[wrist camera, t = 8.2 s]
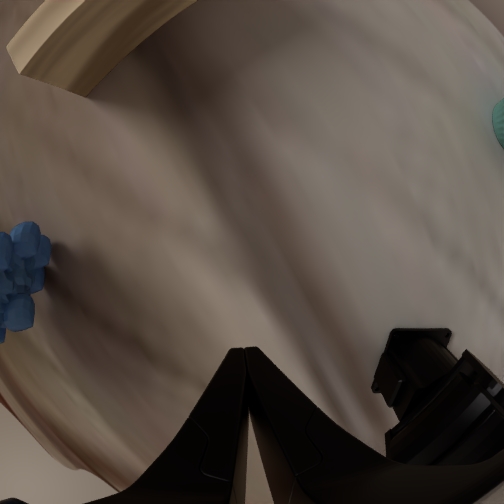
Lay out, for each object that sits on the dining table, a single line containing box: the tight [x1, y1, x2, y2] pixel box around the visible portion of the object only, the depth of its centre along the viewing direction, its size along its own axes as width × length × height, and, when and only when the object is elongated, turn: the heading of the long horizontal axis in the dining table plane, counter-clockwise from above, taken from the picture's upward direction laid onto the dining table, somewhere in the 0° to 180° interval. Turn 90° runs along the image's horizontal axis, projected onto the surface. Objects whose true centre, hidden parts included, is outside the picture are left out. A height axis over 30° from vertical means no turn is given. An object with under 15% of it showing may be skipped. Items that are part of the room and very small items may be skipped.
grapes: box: [0, 222, 51, 343], centre depth 16 cm, size 12×7×12 cm, turn 145°
